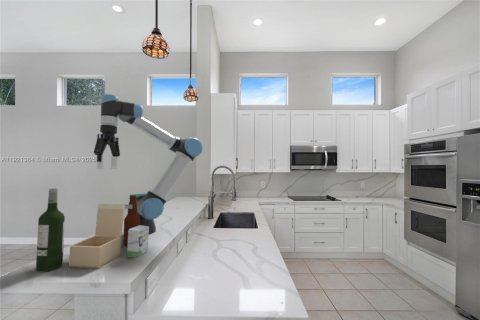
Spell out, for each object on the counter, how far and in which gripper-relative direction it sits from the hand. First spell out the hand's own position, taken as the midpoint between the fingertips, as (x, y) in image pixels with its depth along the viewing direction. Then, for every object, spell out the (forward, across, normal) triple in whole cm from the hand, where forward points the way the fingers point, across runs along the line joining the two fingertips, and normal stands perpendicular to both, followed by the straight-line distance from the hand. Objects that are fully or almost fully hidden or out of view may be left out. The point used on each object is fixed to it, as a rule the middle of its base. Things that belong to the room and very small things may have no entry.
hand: (107, 168), depth 118 cm
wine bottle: (+38, +28, -3) cm, 47 cm away
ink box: (+38, +11, +23) cm, 46 cm away
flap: (+23, +12, +10) cm, 28 cm away
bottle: (+38, 0, +14) cm, 41 cm away
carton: (+38, +20, +10) cm, 44 cm away
